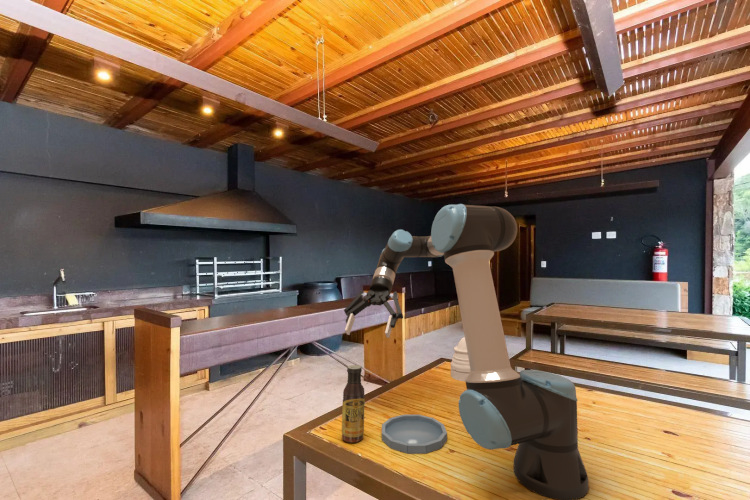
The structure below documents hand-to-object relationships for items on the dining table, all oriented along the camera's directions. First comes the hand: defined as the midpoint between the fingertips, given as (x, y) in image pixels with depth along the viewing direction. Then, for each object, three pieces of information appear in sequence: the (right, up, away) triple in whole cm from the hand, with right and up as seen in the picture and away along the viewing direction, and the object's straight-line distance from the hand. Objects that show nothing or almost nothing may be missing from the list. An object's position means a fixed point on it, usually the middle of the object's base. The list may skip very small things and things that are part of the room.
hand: (366, 334), depth 108 cm
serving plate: (+14, -26, -10) cm, 31 cm away
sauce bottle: (-3, -27, -11) cm, 29 cm away
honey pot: (+42, -28, +39) cm, 64 cm away
